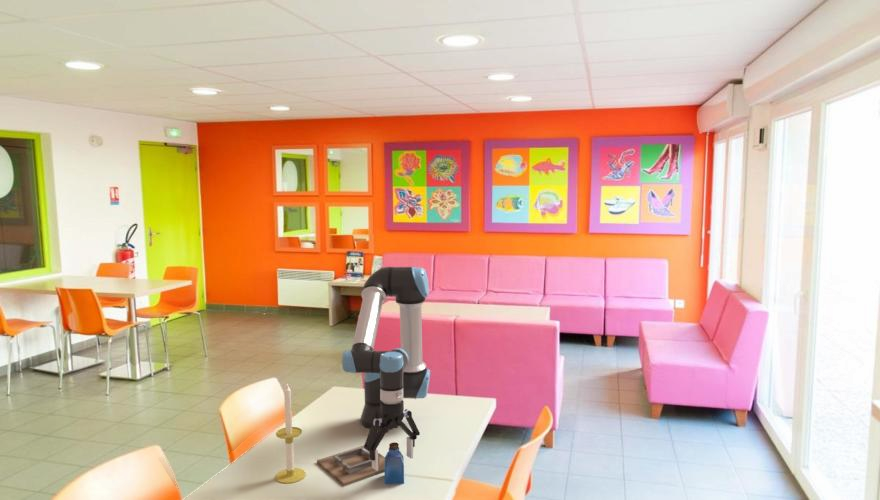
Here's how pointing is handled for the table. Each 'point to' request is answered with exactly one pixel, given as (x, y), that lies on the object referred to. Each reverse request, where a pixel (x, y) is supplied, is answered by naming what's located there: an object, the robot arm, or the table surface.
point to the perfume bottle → (394, 465)
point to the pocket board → (352, 465)
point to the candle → (289, 444)
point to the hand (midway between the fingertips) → (392, 462)
